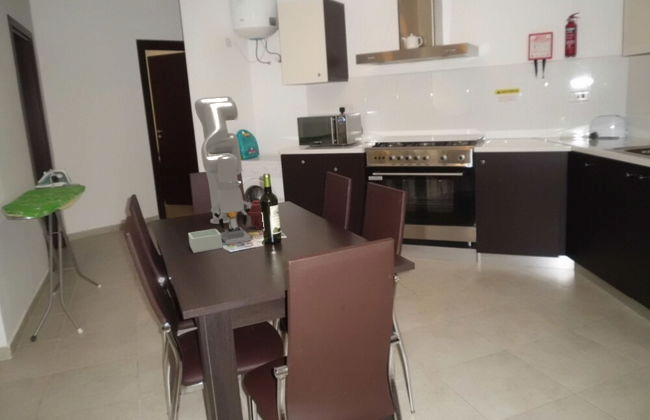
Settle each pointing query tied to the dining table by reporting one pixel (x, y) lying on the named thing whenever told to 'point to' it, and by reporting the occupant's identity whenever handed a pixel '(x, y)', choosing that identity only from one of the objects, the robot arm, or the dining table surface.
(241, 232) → the white base with recess
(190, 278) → the dining table surface
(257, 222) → the mechanical component
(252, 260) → the dining table surface
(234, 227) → the copper-capped metal peg
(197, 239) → the bin
